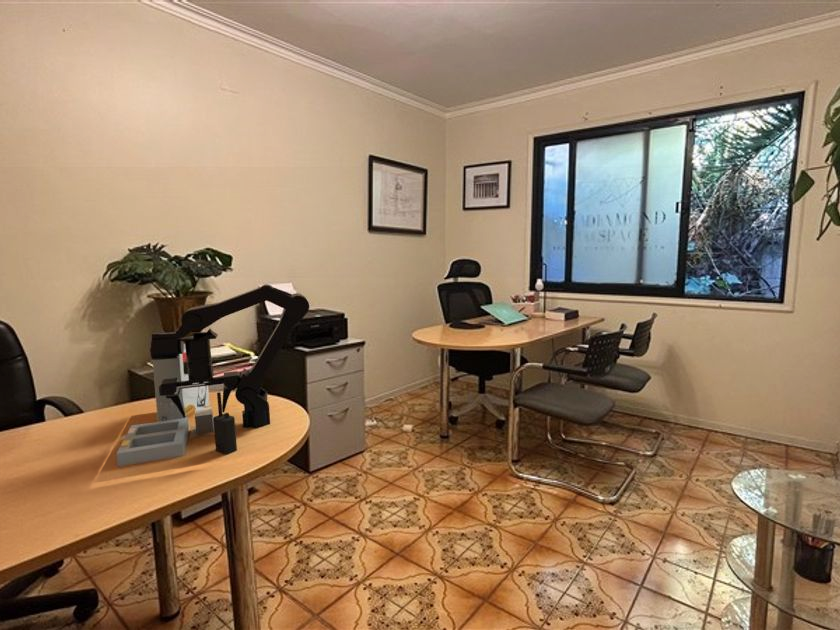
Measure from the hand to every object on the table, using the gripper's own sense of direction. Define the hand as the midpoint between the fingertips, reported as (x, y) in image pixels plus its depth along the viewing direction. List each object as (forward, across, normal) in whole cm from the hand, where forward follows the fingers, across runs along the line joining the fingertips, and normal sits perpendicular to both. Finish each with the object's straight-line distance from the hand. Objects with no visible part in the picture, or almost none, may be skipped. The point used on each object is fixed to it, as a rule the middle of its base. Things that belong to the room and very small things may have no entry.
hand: (204, 414), depth 120 cm
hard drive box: (+6, +6, -17) cm, 19 cm away
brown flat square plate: (+5, 0, 0) cm, 5 cm away
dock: (+5, +11, +6) cm, 13 cm away
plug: (+4, 0, 0) cm, 4 cm away
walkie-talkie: (+6, -5, +15) cm, 17 cm away
